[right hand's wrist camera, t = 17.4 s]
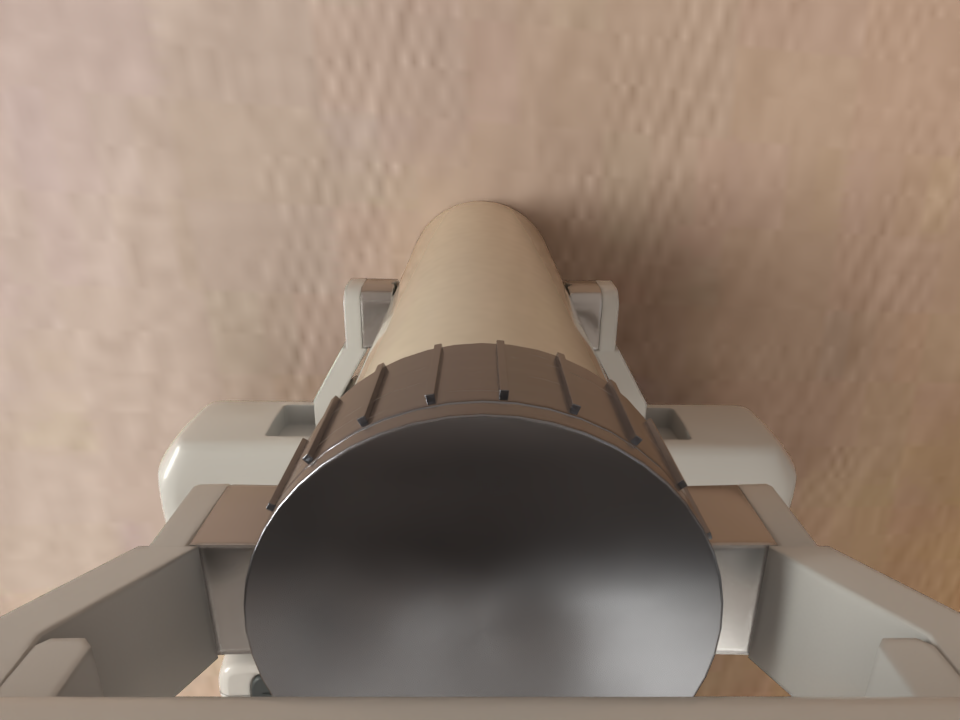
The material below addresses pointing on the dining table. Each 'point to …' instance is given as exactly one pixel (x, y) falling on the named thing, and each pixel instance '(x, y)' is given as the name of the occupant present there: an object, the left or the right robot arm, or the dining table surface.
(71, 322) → the dining table surface
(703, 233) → the dining table surface
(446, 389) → the lid
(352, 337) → the left robot arm
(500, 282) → the jar
